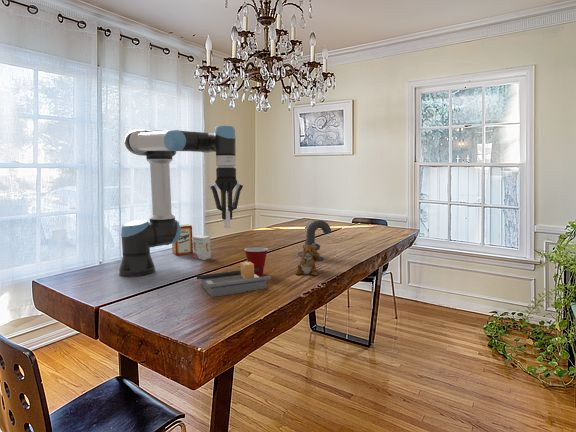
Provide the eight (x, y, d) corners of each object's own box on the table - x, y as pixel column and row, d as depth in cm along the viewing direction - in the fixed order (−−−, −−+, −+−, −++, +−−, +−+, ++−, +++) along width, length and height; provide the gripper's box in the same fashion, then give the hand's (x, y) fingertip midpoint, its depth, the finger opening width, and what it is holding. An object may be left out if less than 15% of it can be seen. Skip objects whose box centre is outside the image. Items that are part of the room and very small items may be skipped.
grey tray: (205, 289, 140) (205, 285, 140) (196, 279, 153) (196, 275, 153) (271, 280, 152) (271, 276, 152) (258, 271, 165) (258, 267, 165)
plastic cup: (268, 270, 176) (268, 245, 175) (268, 277, 166) (268, 250, 164) (245, 271, 176) (244, 245, 175) (243, 277, 165) (242, 250, 164)
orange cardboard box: (176, 255, 207) (174, 226, 205) (172, 253, 212) (171, 225, 210) (192, 253, 212) (192, 225, 210) (189, 251, 217) (188, 223, 215)
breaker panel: (211, 297, 141) (211, 288, 140) (201, 285, 155) (201, 277, 155) (266, 288, 150) (266, 280, 150) (252, 278, 165) (251, 271, 164)
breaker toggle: (244, 279, 152) (244, 264, 151) (240, 275, 156) (240, 262, 156) (254, 277, 154) (254, 263, 153) (249, 274, 158) (249, 261, 157)
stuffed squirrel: (293, 275, 169) (293, 246, 167) (301, 267, 182) (301, 240, 181) (315, 277, 166) (316, 247, 165) (321, 268, 180) (321, 241, 178)
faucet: (337, 260, 197) (338, 222, 194) (309, 262, 192) (309, 223, 190) (324, 252, 214) (324, 217, 211) (297, 254, 209) (297, 218, 207)
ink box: (192, 258, 201) (192, 236, 200) (199, 256, 205) (199, 234, 204) (204, 260, 197) (203, 237, 195) (211, 258, 201) (210, 236, 199)
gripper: (211, 167, 140) (213, 230, 143) (245, 167, 145) (246, 227, 148) (206, 167, 146) (208, 227, 149) (239, 167, 152) (240, 225, 155)
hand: (227, 227), depth 149 cm, fingers closed
